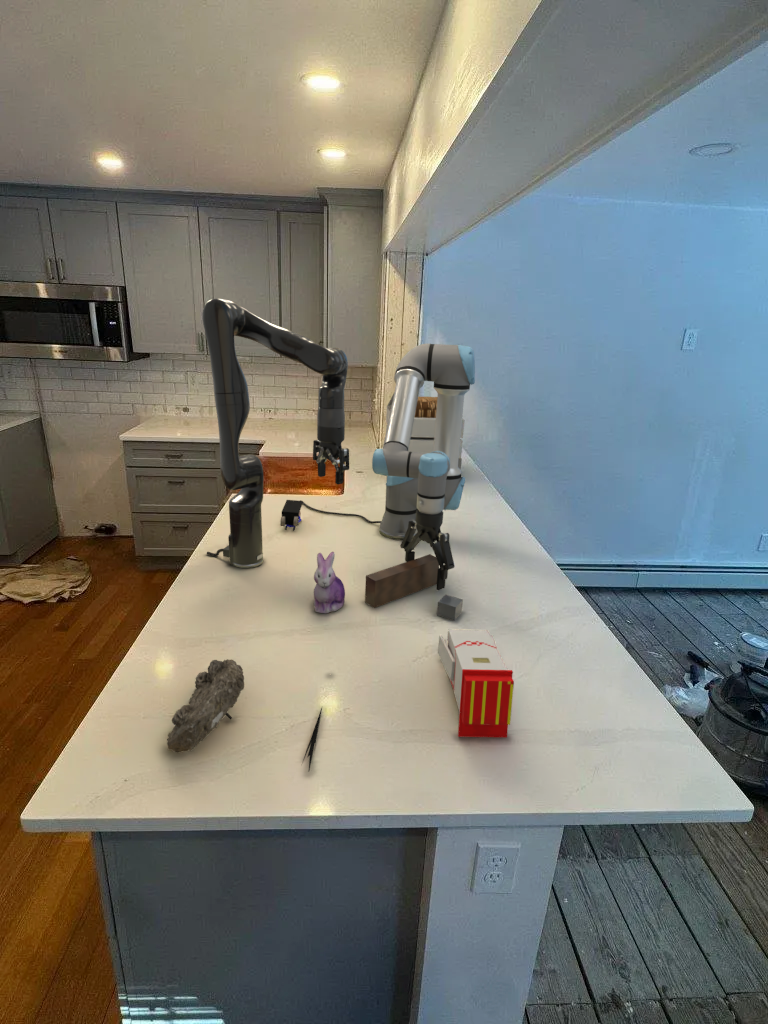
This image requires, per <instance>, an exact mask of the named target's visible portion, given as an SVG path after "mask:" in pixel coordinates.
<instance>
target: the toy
mask: <svg viewBox="0 0 768 1024" xmlns="http://www.w3.org/2000/svg"><path fill="white" fill-rule="evenodd" d="M446 640H447V643H446V641H445V639H444V636H443V635H442V634H439V637H438V646H437V656H438V657H439V659H440V661H441V663H442V666H443V668H444V670H445V672H446V674H447V677H448V679H449V681H450V684H451V687H452V690H453V693H454V697H455V701H456V705H457V708H458V711H459V714H458V715H459V716H458V730H457V731H458V732H457V737H458V738H508V731H509V726H510V725H511V717H512V707H513V697H514V696H513V695H514V684H515V680H514V679H513V673H514V671H513V670H512V669H508V667H507V665H506V662H505V661H504V659H503V658H502V655H501V653H500V651H499V649H498V647H497V643H496V639H495V637H494V635H493V634H491V632H490V631H489V629H467V628H466V629H465V628H463V629H461V628H460V629H459V628H448V630H447V639H446Z"/></svg>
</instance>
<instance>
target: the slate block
mask: <svg viewBox="0 0 768 1024" xmlns="http://www.w3.org/2000/svg"><path fill="white" fill-rule="evenodd" d="M463 603H464V599H463V598H460V597H456V596H453V595H449V594H447V593H446V594H444V595H443V596H442V597H441V598H440V599H439V600H438V601H437V610H436V616H438V617H442V618H444V619H447V620H450V621H456V620H457V619H458V617H460V615H461V614H462V613H463Z"/></svg>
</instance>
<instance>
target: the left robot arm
mask: <svg viewBox="0 0 768 1024" xmlns="http://www.w3.org/2000/svg"><path fill="white" fill-rule="evenodd" d="M201 315H202V317H201V318H202V326H203V330H204V334H205V339H206V343H207V348H208V353H209V357H210V358H209V359H210V369H211V376H212V385H213V398H214V404H215V411H216V419H217V427H218V436H219V467H220V469H219V470H220V475H221V481H222V482H223V485H224V486H225V488H227V490H229V491H238V490H239V491H238V492H237V494H235V495H234V496H233V497H231V498H230V499H229V501H228V512H229V513H228V514H229V516H228V517H229V532H230V533H229V534H228V536H227V537H228V538H227V539H228V545H227V546H225V547H223V548H220V549H218V550H216V552H215V553H213V552H210V551H207V552H206V555H208V556H211V557H218V556H219V555H220V553H222V557H225V558H229V566H234V567H235V568H239V569H251V568H256V567H259V566H260V565H262V564H263V562H264V552H263V551H264V549H263V548H264V547H263V523H262V522H263V521H262V503H263V500H264V480H265V479H264V476H265V474H264V467H263V464H262V463H263V462H262V461H261V460H260V458H259V457H258V456H257V455H255V454H252V453H249V454H243V455H240V451H239V450H240V449H239V447H240V446H239V445H240V444H239V443H240V438H241V435H242V432H243V430H244V427H245V425H246V422H247V420H248V417H249V414H250V411H251V410H250V409H251V405H250V395H249V394H250V393H249V385H248V381H247V378H246V377H245V374H244V371H243V369H242V367H241V365H240V362H239V360H238V357H237V352H236V343H235V337H240V338H243V339H248V340H250V341H253V342H256V343H258V344H260V345H262V346H264V347H266V348H267V349H268V350H270V351H272V352H274V353H276V354H277V355H279V356H282V357H284V358H286V359H289V360H291V361H293V362H296V363H299V364H301V365H303V366H305V367H306V368H308V369H309V370H310V371H311V370H312V371H313V372H315V373H317V374H319V375H322V379H321V385H320V386H319V388H318V392H317V393H318V394H317V395H318V396H317V397H318V399H317V400H318V401H317V402H318V403H317V406H318V407H317V415H316V416H317V417H316V419H317V421H316V423H317V424H316V439H313V441H312V443H313V444H312V460H313V461H316V464H317V476H318V477H319V478H323V477H325V476H326V475H327V473H326V472H327V471H326V470H327V468H326V467H327V466H326V465H327V464H326V462H327V461H330V462H331V464H332V465H333V466H334V469H335V474H334V475H335V477H334V478H335V479H334V480H335V481H334V483H335V485H343V483H344V481H345V479H344V477H345V471H349V470H350V449H349V448H347V447H345V448H343V446H342V443H343V442H344V441H345V433H346V432H345V429H346V428H345V427H346V416H345V415H346V413H345V387H346V381H347V376H348V369H349V368H348V366H349V365H348V357H347V355H346V353H345V352H344V351H343V349H341V348H339V347H326V346H323V345H320V344H318V343H316V342H314V340H312V339H311V338H310V337H308V336H305V335H303V334H301V333H298V332H297V331H294V330H290V329H288V328H286V327H283V326H280V325H278V324H275V323H272V322H270V321H267V320H265V319H264V318H261V317H259V316H257V315H255V314H254V313H252V312H251V311H249V310H247V309H246V308H244V307H242V306H241V305H240V304H238V303H236V302H235V301H233V300H229V299H224V298H218V297H217V298H216V297H215V298H211V299H209V300H208V301H206V303H205V304H204V306H203V309H202V314H201ZM317 453H318V454H317Z"/></svg>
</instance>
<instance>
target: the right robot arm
mask: <svg viewBox="0 0 768 1024" xmlns="http://www.w3.org/2000/svg"><path fill="white" fill-rule="evenodd" d="M475 363H476V362H475V351H474V349H473V347H471V346H468V345H461V344H443V343H442V344H441V343H439V344H438V343H427V342H426V343H421V344H418V345H416V346H413V348H411V349H410V350H409V351H407V353H405V355H403V357H401V359H400V361H399V362H398V364H397V366H396V367H395V368H396V369H395V372H394V377H393V381H394V383H395V387H394V392H393V394H394V396H393V395H392V396H393V401H392V406H391V411H390V416H389V420H388V425H387V424H386V426H387V430H386V429H385V436H384V440H383V445H382V448H376V449H374V452H373V454H372V459H371V469H372V471H373V473H374V474H376V475H380V476H386V482H385V504H384V505H385V507H384V508H385V509H384V513H383V515H382V519H381V520H373V521H372V520H369V519H367V517H365V516H364V515H361V514H357V513H343V512H333V511H326V510H322V509H317V508H314V507H312V506H310V505H308V504H306V503H305V501H303V504H302V506H304V507H305V508H307V509H310V510H311V511H315V512H318V513H321V514H322V513H323V514H327V515H334V516H335V515H336V516H347V517H348V516H349V517H358V518H360V519H362V520H364V521H365V522H367V523H368V524H379V525H378V533H379V534H380V535H381V536H382V537H385V538H387V539H389V540H395V541H401V543H400V549H403V550H404V552H405V553H404V562H408V561H411V560H414V559H416V551H415V550H416V549H415V548H416V547H417V546H418V545H419V544H420V543H421V542H425V543H426V544H428V545H429V547H430V548H432V550H433V553H434V556H435V557H436V558H437V561H438V563H439V568H438V573H437V584H436V586H435V590H436V591H441V590H443V589H445V588H446V580H447V579H448V575H449V571H450V570H452V569H455V561H454V558H453V552H452V547H451V544H450V533H449V532H445V533H444V532H442V530H441V527H442V525H443V521H444V511H456V510H458V509H459V508H460V504H461V501H462V496H463V493H464V492H463V491H464V486H465V483H466V477H465V476H462V475H463V474H462V473H463V472H462V469H461V470H460V469H459V468H458V459H459V448H460V439H461V438H460V437H461V426H462V419H463V414H464V403H465V395H466V394H467V393H468V392H469V391H470V388H471V386H472V385H475V383H476V364H475ZM425 382H432V383H433V389H434V390H435V391H436V393H437V396H436V397H437V410H436V423H435V436H434V449H433V452H431V453H420V452H409V451H408V450H409V444H410V439H411V433H412V428H413V422H414V417H415V411H416V406H417V401H418V397H419V395H420V389H422V387H423V386H424V384H425ZM299 501H302V500H299Z"/></svg>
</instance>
